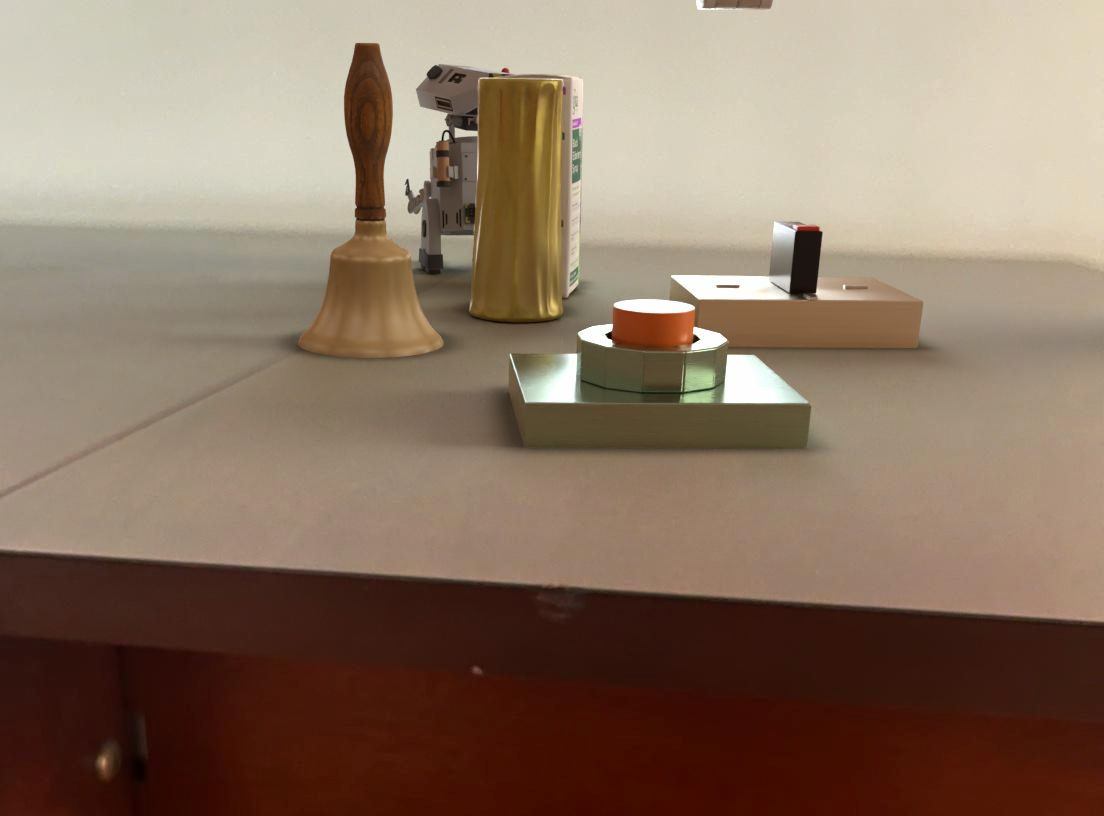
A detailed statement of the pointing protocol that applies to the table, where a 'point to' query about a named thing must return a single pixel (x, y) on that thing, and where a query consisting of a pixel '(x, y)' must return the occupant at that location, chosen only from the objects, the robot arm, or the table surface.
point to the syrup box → (569, 175)
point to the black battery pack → (795, 256)
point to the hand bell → (370, 241)
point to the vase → (518, 201)
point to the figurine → (449, 160)
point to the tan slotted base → (802, 312)
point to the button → (653, 322)
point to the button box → (653, 397)
